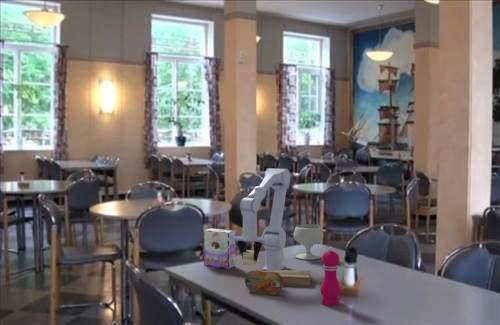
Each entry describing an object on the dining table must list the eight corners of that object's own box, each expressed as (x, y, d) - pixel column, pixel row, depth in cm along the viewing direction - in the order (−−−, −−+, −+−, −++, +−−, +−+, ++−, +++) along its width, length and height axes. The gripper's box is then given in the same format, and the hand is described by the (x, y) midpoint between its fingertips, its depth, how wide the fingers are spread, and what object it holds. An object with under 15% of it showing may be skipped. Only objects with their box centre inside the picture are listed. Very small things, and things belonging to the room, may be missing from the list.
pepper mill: (327, 307, 195) (328, 250, 194) (316, 301, 202) (316, 246, 200) (344, 304, 199) (345, 247, 197) (332, 298, 205) (333, 244, 204)
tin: (244, 291, 215) (244, 269, 215) (248, 289, 218) (248, 267, 217) (280, 296, 208) (280, 274, 208) (284, 294, 211) (284, 272, 210)
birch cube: (246, 262, 236) (246, 250, 235) (257, 263, 234) (257, 251, 234) (242, 264, 231) (242, 252, 231) (253, 265, 230) (253, 253, 229)
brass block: (266, 279, 234) (266, 269, 234) (310, 280, 231) (310, 271, 231) (263, 285, 224) (263, 275, 224) (309, 287, 221) (309, 277, 221)
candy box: (236, 266, 253) (236, 230, 252) (228, 269, 248) (228, 232, 247) (211, 263, 260) (210, 227, 259) (203, 265, 255) (203, 229, 254)
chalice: (328, 257, 271) (328, 226, 270) (311, 262, 261) (311, 230, 260) (304, 253, 280) (305, 222, 280) (287, 257, 270) (287, 226, 269)
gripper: (229, 227, 230) (229, 260, 231) (263, 229, 225) (263, 263, 226) (236, 224, 237) (236, 256, 238) (269, 226, 232) (269, 259, 233)
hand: (250, 259), depth 233 cm, fingers closed on birch cube, 4 cm apart
